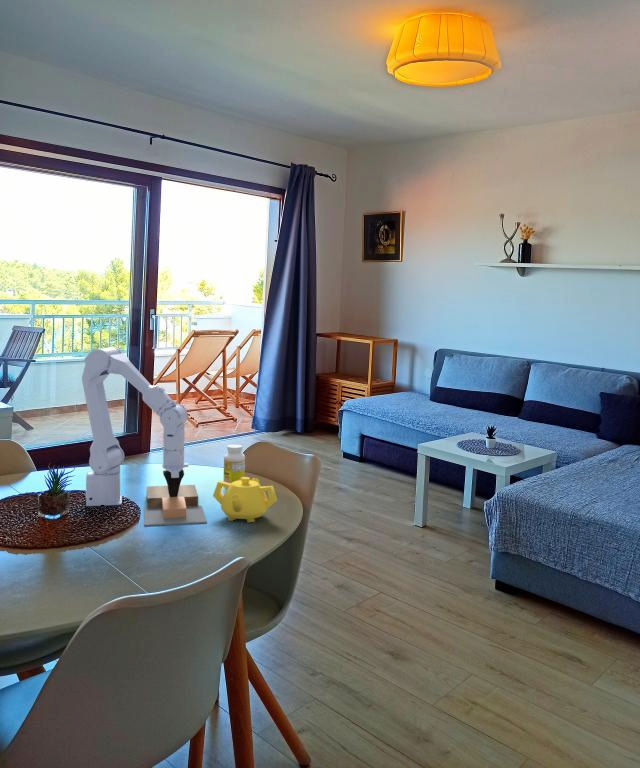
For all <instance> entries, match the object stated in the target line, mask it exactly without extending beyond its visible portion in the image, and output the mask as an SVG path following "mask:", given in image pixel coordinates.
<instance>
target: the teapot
mask: <svg viewBox="0 0 640 768" xmlns="http://www.w3.org/2000/svg"><path fill="white" fill-rule="evenodd" d="M222 488H225V489H226V490H225V492H224V494H222V490H223V489H222ZM266 492H267V493H266ZM212 497H213V498H214V499H215V500H216V501H217V502H218V503H219V504H220V509H221V510H222V512H223V513H224V515H226V516H227V517H228V518H227V521H228V522H229V521H230V522H234V521H233V520H235V521H236V520H238V519H239V520H246V523H248V522H254V521H255V522H256V519H257V518H260V517H262V516H263V515H264V514H265V513H266V512H267V510H268V509H269V508H270V507H272V505H273V504H275V503H277V502H278V499H277V494H276V490H275V488H274V485H267V486H261V484H260V479H259V478H256V477H252V479H251V477H248V476H245V477H242V478H241V480H238V481H234V482H232V483H227V482H224V480H218V482H217V483H216V487H215V489H214V491H213V494H212ZM255 522H254V523H255Z"/></svg>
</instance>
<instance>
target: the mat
mask: <svg viewBox="0 0 640 768" xmlns="http://www.w3.org/2000/svg"><path fill="white" fill-rule="evenodd" d="M143 520H144V521H143V522H144V523H143V524H144V527H153V526H154V527H155V526H174V525H194V524H195V525H197V524H207V523H208V521H207V518H206V515H205V511H204V508H203V506H202V505H198V506H186V517H183V518H163V510H162V507H158V508H147V507H144V508H143Z"/></svg>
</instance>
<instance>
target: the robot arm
mask: <svg viewBox="0 0 640 768" xmlns="http://www.w3.org/2000/svg"><path fill="white" fill-rule="evenodd" d="M84 364H85V365H84V368H83V373H82V376H81V381H82V387H83V392H84V399H85V402H86V408H87V412H88V418H89V422H90V428H91V434H92V438H93V439H92V443H91V445H90V447H89V453H90V456H89V460H88V463H89V464H88V465H89V468H90V469H91V470H92V471H89V472H86V477H85V495H84V496H85V499H86V500H85V501H86V502H85V507H100V506H101V505H104V506H121V505H122V501H123V500H122V499H123V495H121V465H122V464H123V463H124V462H125V461H124V460H125V452H124V450H123V449H122V448H121V446H120V441H119V440H118V439H117V438H116V437H115V436H114V433H113V428H112V422H111V416H110V412H109V411H110V410H109V406H108V402H107V400H108V399H107V396H106V392H105V391H106V390H105V385H104V381H106V379H107V378H108V376H109V375H110V374H114V375H120V376H121V377H123V378H124V379H125V380H126V381H127V382H129V383H130V385H132V386H133V387H134V388H135V389H136V390H138V392H140V393H141V394H142V401H143V402H144V403H145V404H146V405H147V407H149V408H150V409H151V411H153V412H154V413H155V414H156V415H157V416H158V417H159V421H160V424H161V425H162V427H163V434H162V435H163V443H162V444H163V445H162V446H163V447H162V449H163V450H162V452H163V453H162V455H163V456H162V461H163V462H162V469H164V470H163V471H162V473H163V477H164V478H165V481H166V486H168V492H169V496H170V497H177V496H178V492H179V486H180V485H181V482H182V480H183V478H184V475H185V470H184V468H188V467H189V463H188V462H185V423H186V422H187V420H188V414H189V413H188V411H187V409H186V407H185V406H184V405H183V404H182V403H181V404H180V403H178V402H177V401H176V400H175V399H174V400H173V399H172V398H171V397H170V396H169V395H168V393H166V392H165V391H166V389H165V388H164V387H162V386H161V387H160V386H159V385H152V384H151V383H150V382H149V381H148V380H147V379H146V377H144V375H143V374H142V373H141V372H140V370H138V368H136V367H135V365H134V364H133V363H132V362H131V361H130V359H129V357H128V356H127V355H126V354H125V353H123V351H121V349H119V348H118V347H116V346H109V347H106V348H105V347H104V348H95V349H93V350H91V351H89V353H88V354H87V355H86V357H85V358H84ZM101 507H102V506H101Z"/></svg>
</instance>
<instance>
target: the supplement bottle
mask: <svg viewBox="0 0 640 768" xmlns="http://www.w3.org/2000/svg"><path fill="white" fill-rule="evenodd" d="M226 449H227V453H225V454H224V457H223V482H227V483H232V482H234V481H238V480H241V478H242V477H246V475H245V474H246V473H245V472H246V471H245V470H246V456H245V454H244V453H243V445H241V444H228V445H227V447H226Z"/></svg>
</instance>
